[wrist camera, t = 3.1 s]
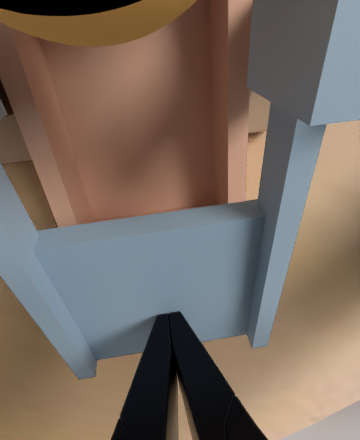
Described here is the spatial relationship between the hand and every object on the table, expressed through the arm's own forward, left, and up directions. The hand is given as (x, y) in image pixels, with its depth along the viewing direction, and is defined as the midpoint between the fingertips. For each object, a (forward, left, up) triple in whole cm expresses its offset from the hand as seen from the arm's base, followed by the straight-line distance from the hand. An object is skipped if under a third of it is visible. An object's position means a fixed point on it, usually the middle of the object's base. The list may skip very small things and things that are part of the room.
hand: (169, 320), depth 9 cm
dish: (0, -6, -5) cm, 8 cm away
